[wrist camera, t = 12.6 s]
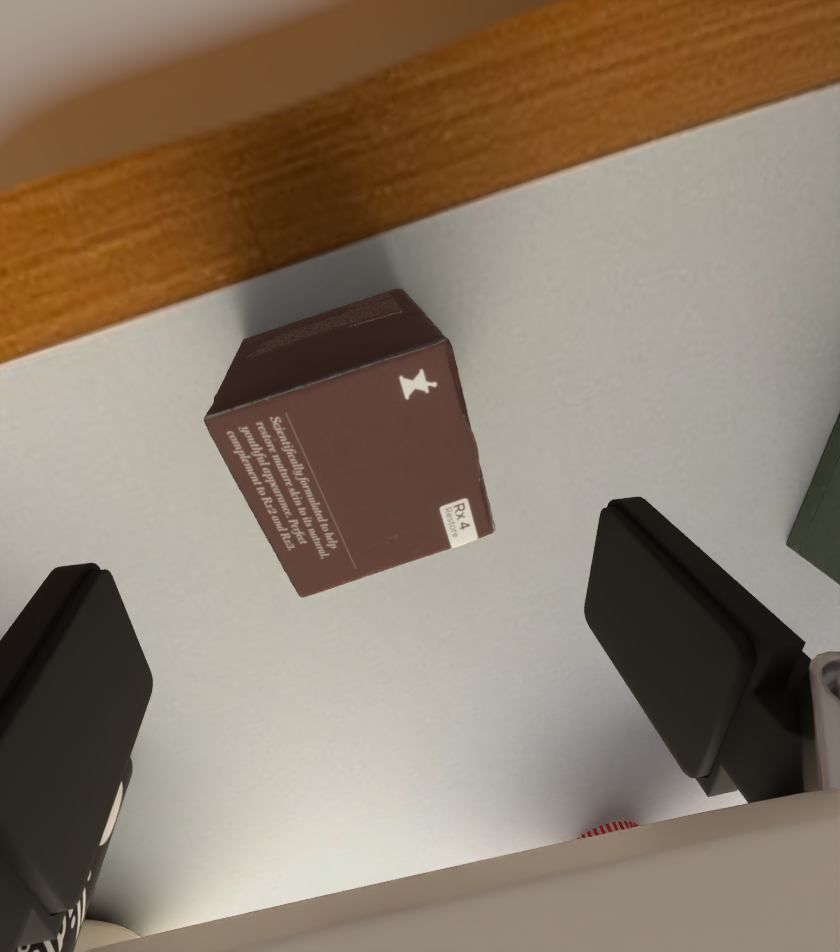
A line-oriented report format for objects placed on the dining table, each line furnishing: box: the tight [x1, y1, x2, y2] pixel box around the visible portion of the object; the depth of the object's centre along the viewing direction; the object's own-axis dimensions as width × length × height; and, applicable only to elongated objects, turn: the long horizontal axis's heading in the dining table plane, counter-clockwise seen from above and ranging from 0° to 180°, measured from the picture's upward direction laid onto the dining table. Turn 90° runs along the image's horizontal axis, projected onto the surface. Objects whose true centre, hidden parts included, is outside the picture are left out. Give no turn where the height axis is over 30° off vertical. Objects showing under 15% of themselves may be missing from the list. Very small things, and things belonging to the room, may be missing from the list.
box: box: [204, 289, 495, 597], centre depth 16 cm, size 6×6×7 cm
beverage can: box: [15, 758, 132, 952], centre depth 20 cm, size 7×7×12 cm
